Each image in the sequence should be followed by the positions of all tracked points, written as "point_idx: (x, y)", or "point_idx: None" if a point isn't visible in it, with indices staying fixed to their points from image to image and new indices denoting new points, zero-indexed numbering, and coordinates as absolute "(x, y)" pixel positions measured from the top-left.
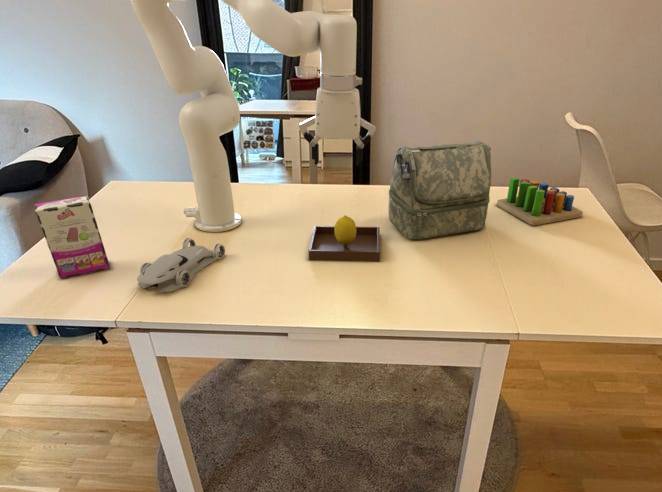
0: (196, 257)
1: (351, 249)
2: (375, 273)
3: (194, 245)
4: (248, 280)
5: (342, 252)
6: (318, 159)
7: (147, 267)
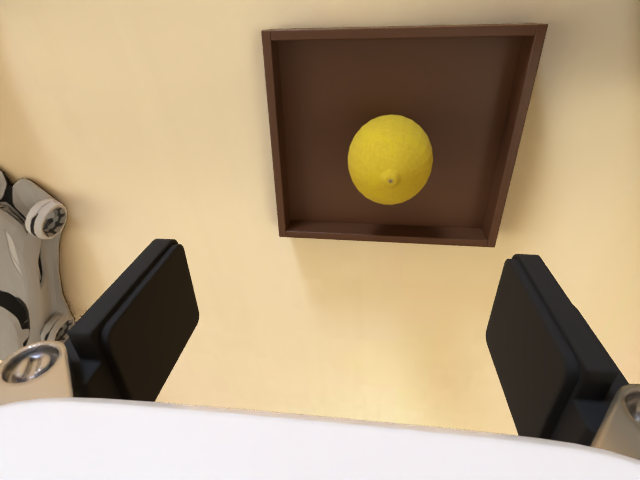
0: (29, 283)
1: None
2: (463, 289)
3: None
4: None
5: (378, 239)
6: (181, 276)
7: None
